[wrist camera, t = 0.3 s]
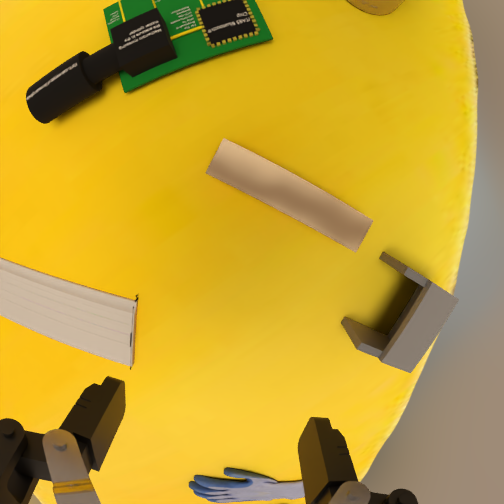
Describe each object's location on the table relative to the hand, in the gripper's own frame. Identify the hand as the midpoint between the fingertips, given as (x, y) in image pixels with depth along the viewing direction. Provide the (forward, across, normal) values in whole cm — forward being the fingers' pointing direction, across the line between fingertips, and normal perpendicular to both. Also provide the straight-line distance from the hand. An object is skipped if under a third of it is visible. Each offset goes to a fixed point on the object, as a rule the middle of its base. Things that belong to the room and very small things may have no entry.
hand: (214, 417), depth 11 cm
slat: (+27, -4, -8) cm, 28 cm away
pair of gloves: (+26, -14, +56) cm, 63 cm away
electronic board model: (+27, +18, -25) cm, 41 cm away
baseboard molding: (+27, +27, +14) cm, 41 cm away
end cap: (+26, -21, +2) cm, 34 cm away
